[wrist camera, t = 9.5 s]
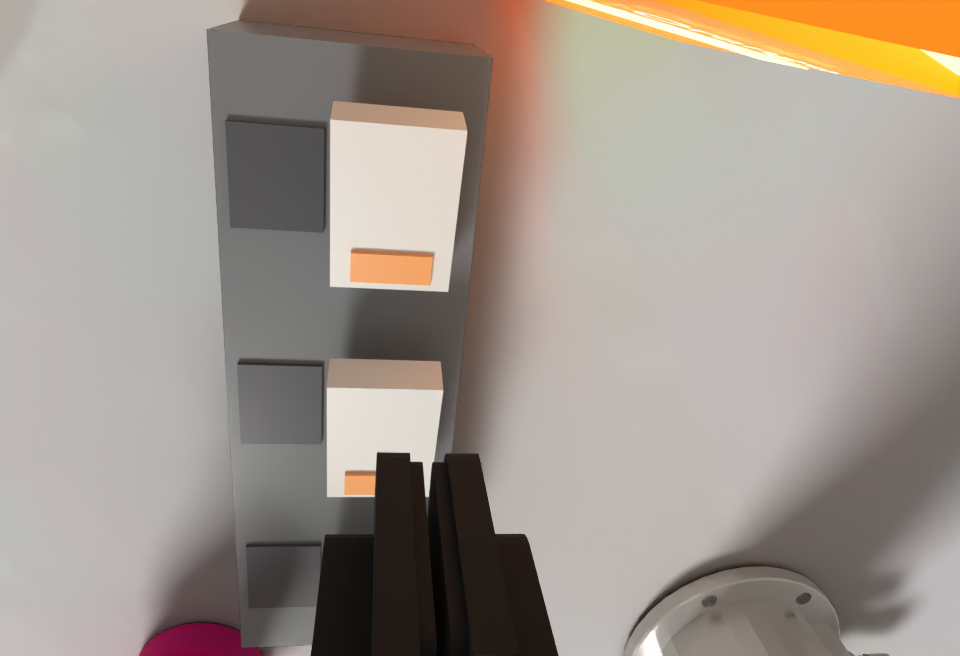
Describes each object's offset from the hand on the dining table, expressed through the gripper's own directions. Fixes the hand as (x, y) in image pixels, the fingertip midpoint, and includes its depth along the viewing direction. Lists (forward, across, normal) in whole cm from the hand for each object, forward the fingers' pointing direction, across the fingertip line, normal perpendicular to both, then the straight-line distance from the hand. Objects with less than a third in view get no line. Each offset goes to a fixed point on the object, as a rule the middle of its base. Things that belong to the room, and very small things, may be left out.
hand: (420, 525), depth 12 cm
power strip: (+18, +2, +8) cm, 20 cm away
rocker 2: (+12, 0, +5) cm, 13 cm away
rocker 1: (+12, 0, -3) cm, 12 cm away
